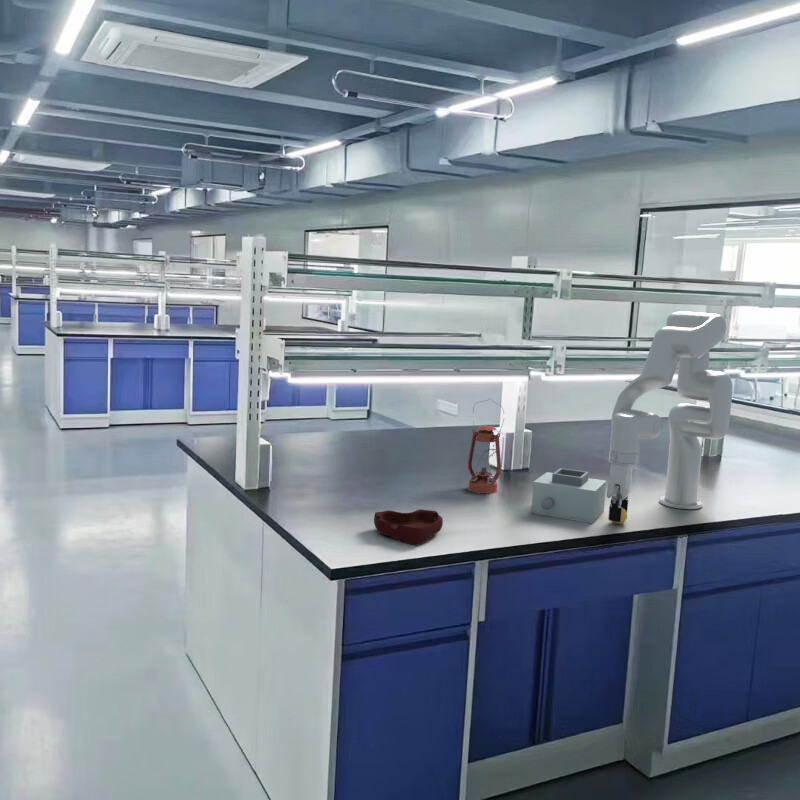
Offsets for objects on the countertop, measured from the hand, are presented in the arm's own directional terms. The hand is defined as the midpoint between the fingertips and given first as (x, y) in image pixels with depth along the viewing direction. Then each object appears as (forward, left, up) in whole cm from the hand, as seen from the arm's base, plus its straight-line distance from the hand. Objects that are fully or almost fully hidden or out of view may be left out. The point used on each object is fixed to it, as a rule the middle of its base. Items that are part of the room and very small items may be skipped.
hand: (617, 516), depth 220 cm
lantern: (-12, -45, -2) cm, 47 cm away
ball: (0, 0, 0) cm, 0 cm away
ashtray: (+42, -45, -3) cm, 61 cm away
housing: (-2, -15, -2) cm, 15 cm away
